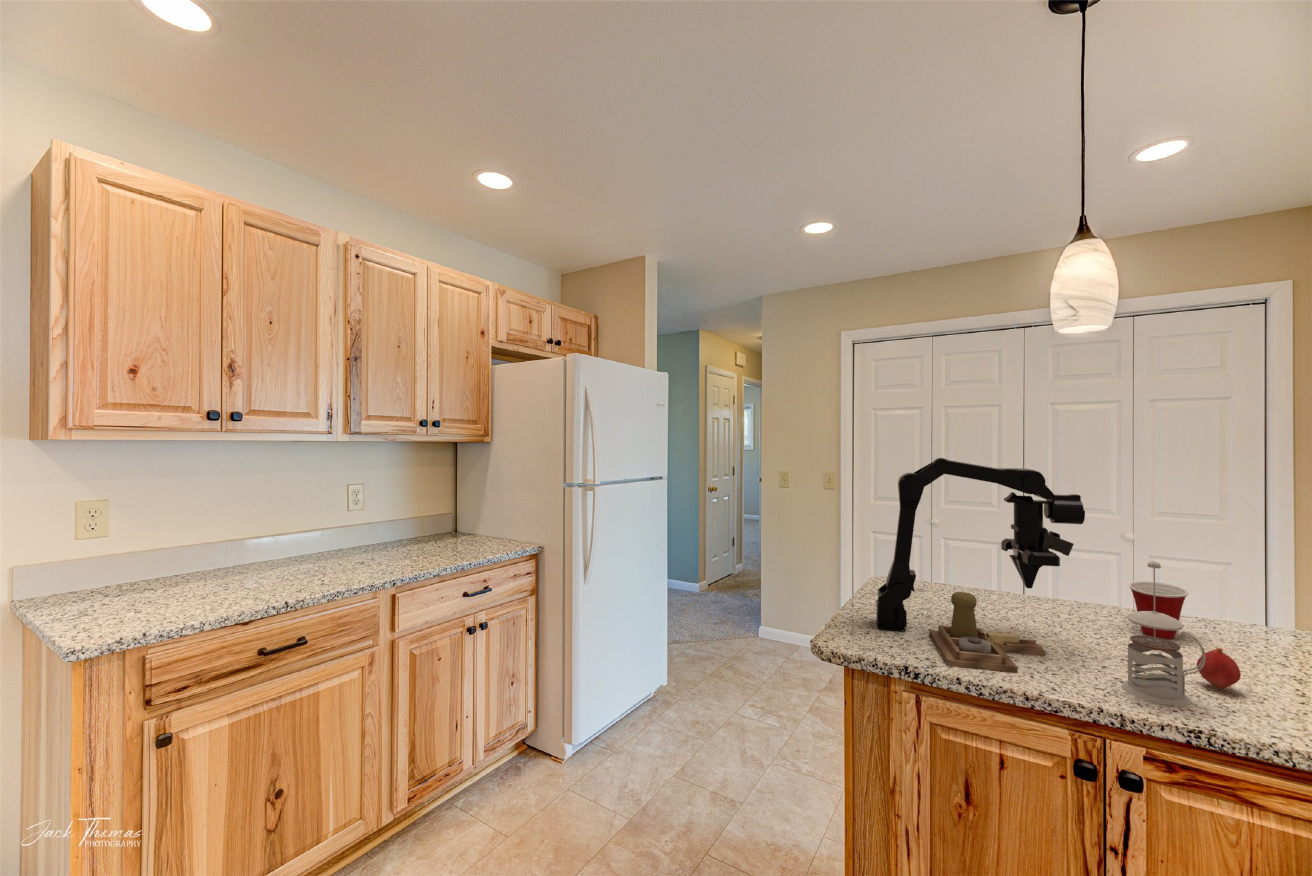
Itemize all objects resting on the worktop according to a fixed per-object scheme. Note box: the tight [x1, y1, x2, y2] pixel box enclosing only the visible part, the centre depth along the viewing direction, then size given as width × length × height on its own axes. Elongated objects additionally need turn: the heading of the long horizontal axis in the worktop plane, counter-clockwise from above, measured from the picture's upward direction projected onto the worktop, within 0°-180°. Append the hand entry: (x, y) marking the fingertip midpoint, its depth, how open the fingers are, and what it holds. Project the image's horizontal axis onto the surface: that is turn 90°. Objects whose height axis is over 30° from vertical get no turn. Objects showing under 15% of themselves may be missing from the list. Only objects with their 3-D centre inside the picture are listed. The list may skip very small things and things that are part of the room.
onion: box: [1196, 647, 1242, 690], centre depth 104 cm, size 6×6×8 cm
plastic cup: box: [1128, 581, 1189, 641], centre depth 132 cm, size 11×11×12 cm
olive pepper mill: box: [950, 591, 978, 638], centre depth 126 cm, size 6×6×11 cm
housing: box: [928, 624, 1046, 674], centre depth 121 cm, size 22×19×4 cm
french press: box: [1120, 560, 1206, 707], centre depth 102 cm, size 10×12×25 cm
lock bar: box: [985, 631, 1020, 645], centre depth 124 cm, size 6×2×2 cm, turn 74°
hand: (1028, 587), depth 128 cm, fingers closed
